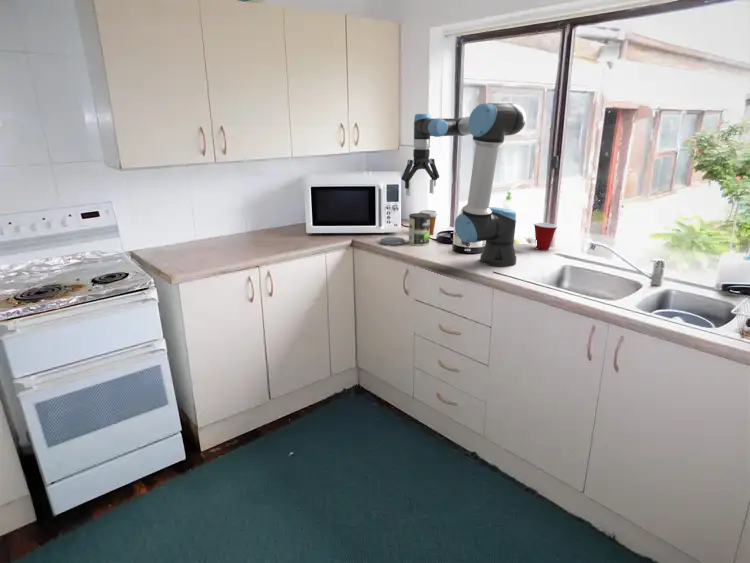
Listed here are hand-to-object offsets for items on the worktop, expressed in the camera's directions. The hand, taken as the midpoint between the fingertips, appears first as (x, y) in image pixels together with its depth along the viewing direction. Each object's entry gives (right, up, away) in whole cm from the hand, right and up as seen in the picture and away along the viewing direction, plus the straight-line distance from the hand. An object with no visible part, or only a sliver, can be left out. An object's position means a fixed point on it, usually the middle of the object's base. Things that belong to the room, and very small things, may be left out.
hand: (420, 194), depth 240 cm
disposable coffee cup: (+6, -17, +26) cm, 32 cm away
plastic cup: (+58, -26, -2) cm, 64 cm away
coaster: (-13, -23, +8) cm, 27 cm away
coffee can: (0, -23, +8) cm, 24 cm away
